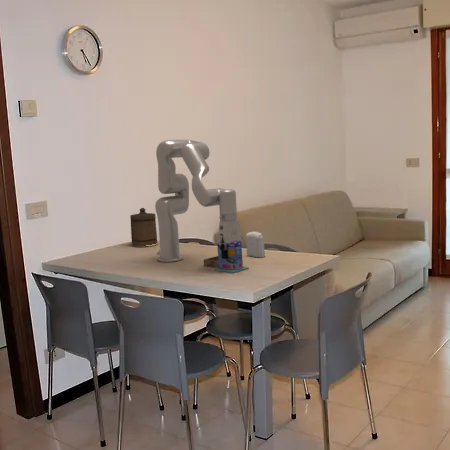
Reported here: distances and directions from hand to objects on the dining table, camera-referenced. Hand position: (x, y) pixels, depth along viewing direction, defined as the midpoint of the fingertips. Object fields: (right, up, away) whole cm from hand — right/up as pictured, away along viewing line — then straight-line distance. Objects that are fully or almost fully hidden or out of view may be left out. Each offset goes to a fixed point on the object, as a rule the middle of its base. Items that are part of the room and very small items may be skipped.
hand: (230, 256), depth 247 cm
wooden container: (-50, +2, +80) cm, 94 cm away
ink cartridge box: (0, -5, +1) cm, 5 cm away
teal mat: (0, -6, +1) cm, 6 cm away
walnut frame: (-3, -4, +13) cm, 15 cm away
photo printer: (+13, -2, +28) cm, 31 cm away
